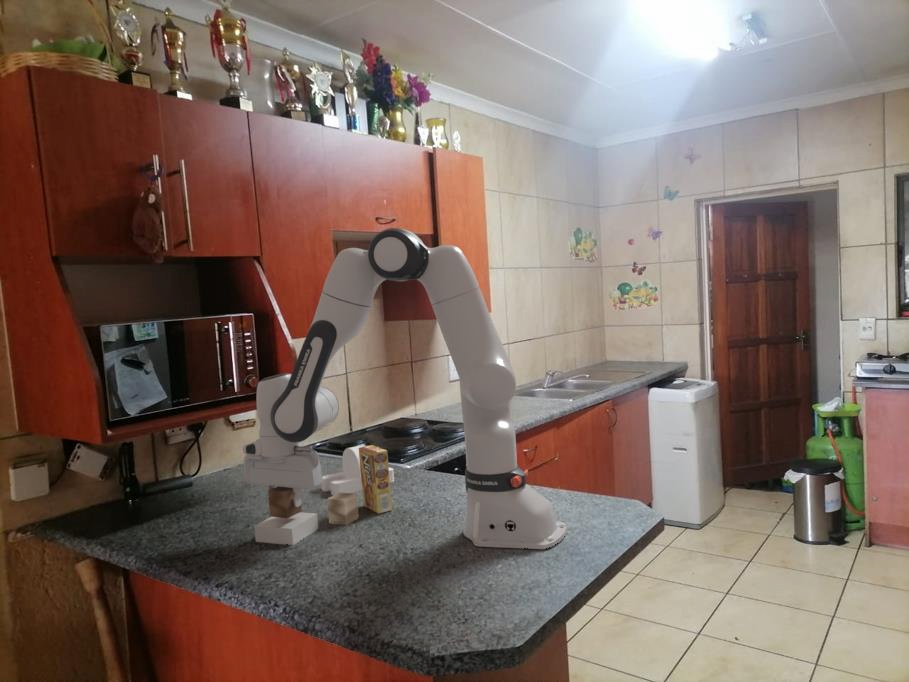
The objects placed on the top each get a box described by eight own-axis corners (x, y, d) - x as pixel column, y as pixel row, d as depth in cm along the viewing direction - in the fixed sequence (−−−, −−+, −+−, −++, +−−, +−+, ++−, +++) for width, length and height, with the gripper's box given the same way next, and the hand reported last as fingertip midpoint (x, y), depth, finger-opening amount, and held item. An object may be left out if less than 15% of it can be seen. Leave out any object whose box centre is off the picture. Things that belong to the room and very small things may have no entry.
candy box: (393, 510, 161) (388, 450, 160) (377, 514, 159) (373, 453, 158) (377, 502, 168) (372, 444, 167) (362, 506, 166) (357, 447, 165)
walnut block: (302, 511, 149) (299, 485, 149) (287, 518, 145) (285, 492, 144) (285, 509, 151) (283, 484, 151) (270, 516, 147) (267, 490, 147)
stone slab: (318, 530, 151) (317, 513, 151) (293, 546, 142) (291, 528, 142) (282, 527, 155) (281, 511, 155) (255, 543, 146) (254, 525, 145)
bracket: (336, 497, 176) (333, 456, 175) (320, 490, 184) (316, 450, 183) (395, 482, 187) (393, 443, 186) (377, 475, 195) (375, 438, 194)
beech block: (358, 518, 157) (356, 494, 157) (346, 525, 153) (344, 500, 152) (341, 516, 159) (339, 492, 159) (329, 523, 155) (327, 498, 155)
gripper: (325, 443, 145) (330, 504, 146) (256, 440, 154) (261, 497, 155) (307, 450, 140) (312, 513, 141) (237, 446, 149) (242, 505, 150)
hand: (285, 504), depth 148 cm, fingers closed on walnut block, 5 cm apart
